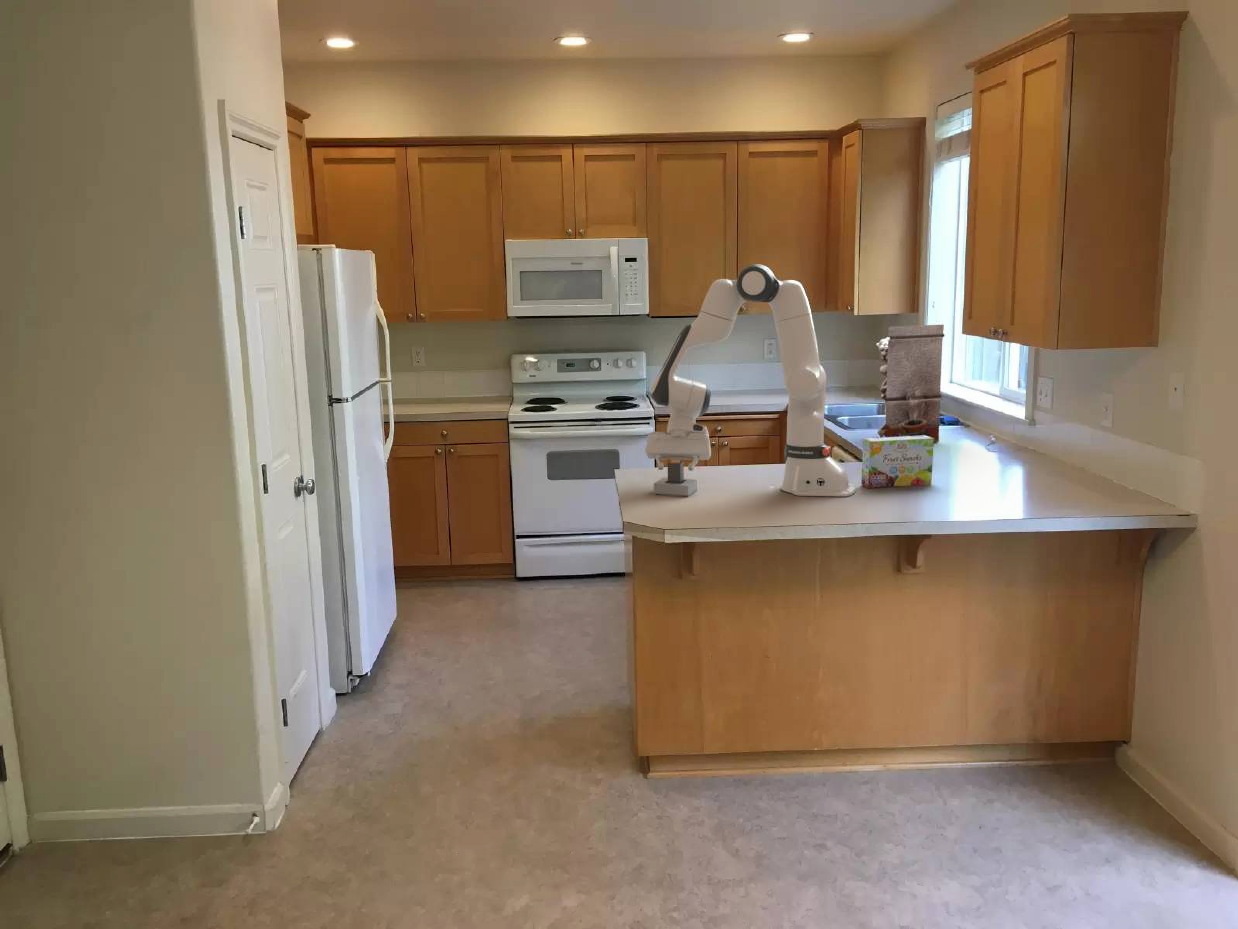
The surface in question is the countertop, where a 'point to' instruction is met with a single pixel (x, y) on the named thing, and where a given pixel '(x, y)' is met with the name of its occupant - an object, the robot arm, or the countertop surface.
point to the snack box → (897, 461)
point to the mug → (909, 428)
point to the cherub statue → (912, 376)
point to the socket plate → (675, 487)
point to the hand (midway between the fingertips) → (675, 469)
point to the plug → (676, 472)
